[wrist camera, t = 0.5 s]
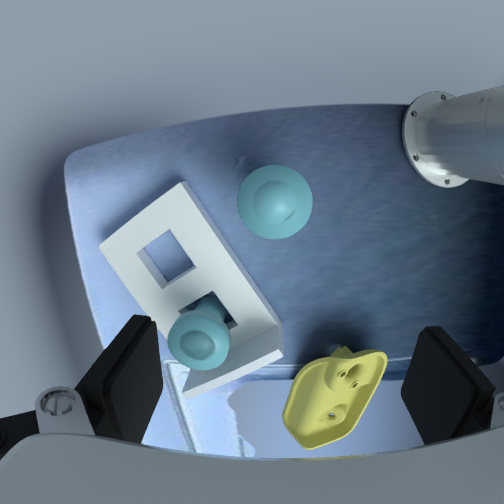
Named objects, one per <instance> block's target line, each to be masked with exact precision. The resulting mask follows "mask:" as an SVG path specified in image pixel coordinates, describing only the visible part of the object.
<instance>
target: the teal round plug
mask: <svg viewBox="0 0 504 504" xmlns="http://www.w3.org/2000/svg"><path fill="white" fill-rule="evenodd" d="M237 207H238V212H239V215H240V217H241V219H242V221H243V223H244V224H245V225H246V227H247V228H248V229H249V230H251V231H252V232H253V233H255V234H256V235H258V236H261V237H263V238H267V239H282V238H286V237H289V236H291V235H293V234H295V233H297V232H298V231H299V230H300V229H301V228H302V227H303V226H304V225H305V224H306V222H307V221H308V219H309V217H310V214H311V211H312V194H311V190H310V188H309V186H308V184H307V182H306V181H305V179H304V178H303V177H302V176H301V175H300V174H299V173H298V172H296V171H295V170H293V169H291V168H289V167H286V166H282V165H267V166H263V167H260V168H258V169H256V170H255V171H253V172H252V173H250V174H249V175H248V176H247V177H246V179H245V180H244V181H243V183H242V184H241V186H240V189H239V192H238V197H237Z"/></svg>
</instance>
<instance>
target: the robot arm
mask: <svg viewBox="0 0 504 504" xmlns="http://www.w3.org/2000/svg"><path fill="white" fill-rule="evenodd" d="M411 113H412V114H413V116H412V115H411ZM402 141H403V146H404V150H405V153H406V156H407V158H408V160H409V162H410V164H411V165H412V167H413V168H414V170H415V171H416V172H417V173H418V174H419V175H420V176H421V177H422V178H423V179H425V180H426V181H427V182H429V183H431V184H433V185H436V186H440V187H446V188H450V187H456V186H459V185H461V184H463V183H465V182H466V181H468V180H469V179H473V180H479V181H485V182H490V183H496V184H501V185H504V85H502V86H498V87H494V88H490V89H486V90H482V91H478V92H474V93H470V94H467V95H463V96H459V97H454V96H453V95H450V94H448V93H445V92H438V91H436V92H429V93H426V94H423V95H421V96H419V97H417V98H416V99H415V100H414V101H413V102H412V103H411V104H410V106H409V107H408V109H407V111H406V113H405V115H404V119H403V124H402ZM413 156H415V159H413ZM162 390H163V377H162V370H161V362H160V354H159V345H158V335H157V325H156V322H155V321H152V320H151V317H150V316H143V315H133V316H132V317H131V318H130V320H129V321H128V322H127V323H126V324H125V326H124V327H123V328H122V329H121V331H120V332H119V333H118V334H117V336H116V337H115V338H114V340H113V341H112V342H111V343H110V345H109V346H108V347H107V348H106V349H105V350H104V351H103V352H102V354H101V355H100V356H99V357H98V359H97V360H96V361H95V363H94V364H93V365H92V366H91V368H90V369H89V370H88V372H87V373H86V374H85V376H84V377H83V378H82V379H81V381H80V382H79V383H78V385H77V386H76V387H75V389H72V388H69V387H63V386H58V387H52V388H50V389H47V390H45V391H43V392H42V393H41V394H40V395H39V396H38V398H37V399H36V401H35V409H36V410H34V411H30V412H26V413H21V414H17V415H13V416H9V417H4V418H0V504H504V393H500V394H498V395H497V396H496V397H495V399H494V398H493V396H492V394H493V393H494V391H495V387H494V385H493V384H492V383H491V382H490V381H489V379H488V378H487V377H486V376H485V375H484V374H483V372H481V370H480V369H479V368H478V367H477V366H476V364H475V363H474V362H473V361H472V360H471V359H470V358H469V357H468V355H467V354H466V353H465V352H464V351H463V350H462V349H461V348H460V347H459V346H458V344H457V343H456V342H455V341H454V340H453V339H452V338H451V337H450V336H449V335H448V334H447V333H446V331H445V330H444V329H443V328H442V327H440V326H430V327H425V329H424V330H423V331H421V332H420V334H419V337H418V340H417V344H416V347H415V350H414V353H413V356H412V359H411V362H410V365H409V368H408V371H407V374H406V377H405V379H404V382H403V385H402V388H401V397H402V399H403V401H404V403H405V405H406V407H407V409H408V411H409V413H410V415H411V417H412V419H413V421H414V423H415V425H416V427H417V429H418V432H419V434H420V436H421V438H422V440H423V442H424V444H425V445H423V446H417V447H412V448H406V449H400V450H393V451H387V452H379V453H371V454H362V455H353V456H339V457H323V458H251V457H234V456H222V455H212V454H203V453H195V452H187V451H180V450H173V449H167V448H160V447H155V446H149V445H144V444H141V441H142V439H143V436H144V434H145V431H146V429H147V427H148V424H149V422H150V419H151V417H152V414H153V412H154V410H155V407H156V405H157V402H158V400H159V398H160V395H161V393H162Z"/></svg>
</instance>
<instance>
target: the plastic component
mask: <svg viewBox="0 0 504 504" xmlns="http://www.w3.org/2000/svg"><path fill="white" fill-rule="evenodd" d="M386 365H387V356H386V354H385V353H383V352H382V351H379V350H375V349H368V350H363V351H359V352H356V353H352V352H351V351H350V350H349V349H348V348H347V347H346V346H344V347H342V348H339V347H338V348H337V350H336V351H334V352H333V353H331V356H329V357H324V358H320V359H317V360H314V361H312V362H310V363H308V364H307V365H305V366H304V367H303V368H302V369H301V370H300V371H299V372H298V374H297V375H296V377H295V379H294V381H293V383H292V386H291V389H290V393H289V396H288V399H287V401H286V404H285V407H284V410H283V413H282V417H283V422H284V425H285V427H286V428H287V430H288V431H289V433H290V434H291V435H292V436H293V437H294V438H295V440H296V441H297V442H298V443H299V444H300V445H301V446H302V447H303V448H304V449H307V450H312V449H315V448H318V447H320V446H323V445H326V444H329V443H331V442H334V441H336V440H339V439H341V438H343V437H345V436H346V435H347V434H349V433H350V432H351V431H352V430H353V429H354V428H355V426H356V424H357V423H358V421H359V419H360V417H361V416H362V414H363V412H364V410H365V409H366V407H367V405H368V403H369V401H370V399H371V397H372V395H373V394H374V392H375V390H376V388H377V386H378V384H379V382H380V380H381V378H382V376H383V373H384V371H385V368H386ZM329 413H333V414H334V415H333V416H332V415H329Z"/></svg>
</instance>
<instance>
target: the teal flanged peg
mask: <svg viewBox="0 0 504 504" xmlns="http://www.w3.org/2000/svg"><path fill="white" fill-rule="evenodd" d="M225 315H226V308H225V306H224V305H223V304H222V302H221V301H220V299H219V298H217V297H215V296H205V297H203V298H201V299H200V300H199V302H198V304H197V306H196V308H195V310H192V311H188V312H185V313H183V314H182V315H180V316H179V317H178V318H177V319H176V321H175V322H174V324H173V326H172V328H171V329H170V331H169V334H168V338H167V342H168V347H169V350H170V352H171V354H172V355H173V356H174V358H175V359H176V360H177V361H179V362H180V363H181V364H183V365H184V366H186V367H189V368H191V369H195V370H210V369H213V368H216V367H218V366H219V365H221V364H222V363H223V362H224V360H225V359H226V357H227V354H228V351H229V346H230V340H231V337H230V332H229V329H228V327H227V326H226V324H225V323H224V318H225Z"/></svg>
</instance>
